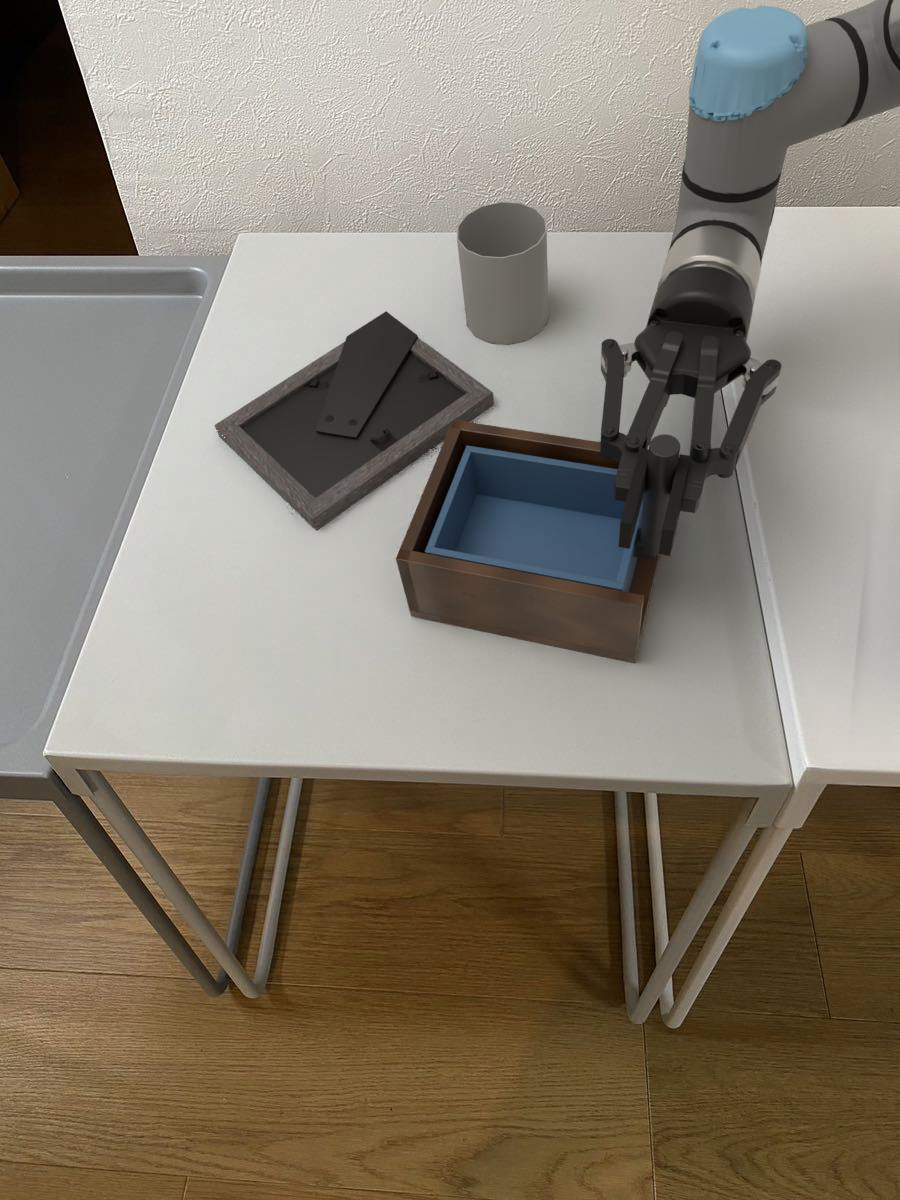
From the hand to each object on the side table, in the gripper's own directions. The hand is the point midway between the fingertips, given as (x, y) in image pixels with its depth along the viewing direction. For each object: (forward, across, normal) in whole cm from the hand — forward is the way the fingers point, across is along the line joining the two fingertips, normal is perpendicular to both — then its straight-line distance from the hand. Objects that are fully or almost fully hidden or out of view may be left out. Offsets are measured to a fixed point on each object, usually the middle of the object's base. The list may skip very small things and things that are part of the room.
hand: (645, 538), depth 61 cm
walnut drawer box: (-6, +9, -14) cm, 17 cm away
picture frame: (-18, +30, -14) cm, 38 cm away
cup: (-35, +20, -14) cm, 42 cm away
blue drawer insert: (-6, +8, -12) cm, 16 cm away
